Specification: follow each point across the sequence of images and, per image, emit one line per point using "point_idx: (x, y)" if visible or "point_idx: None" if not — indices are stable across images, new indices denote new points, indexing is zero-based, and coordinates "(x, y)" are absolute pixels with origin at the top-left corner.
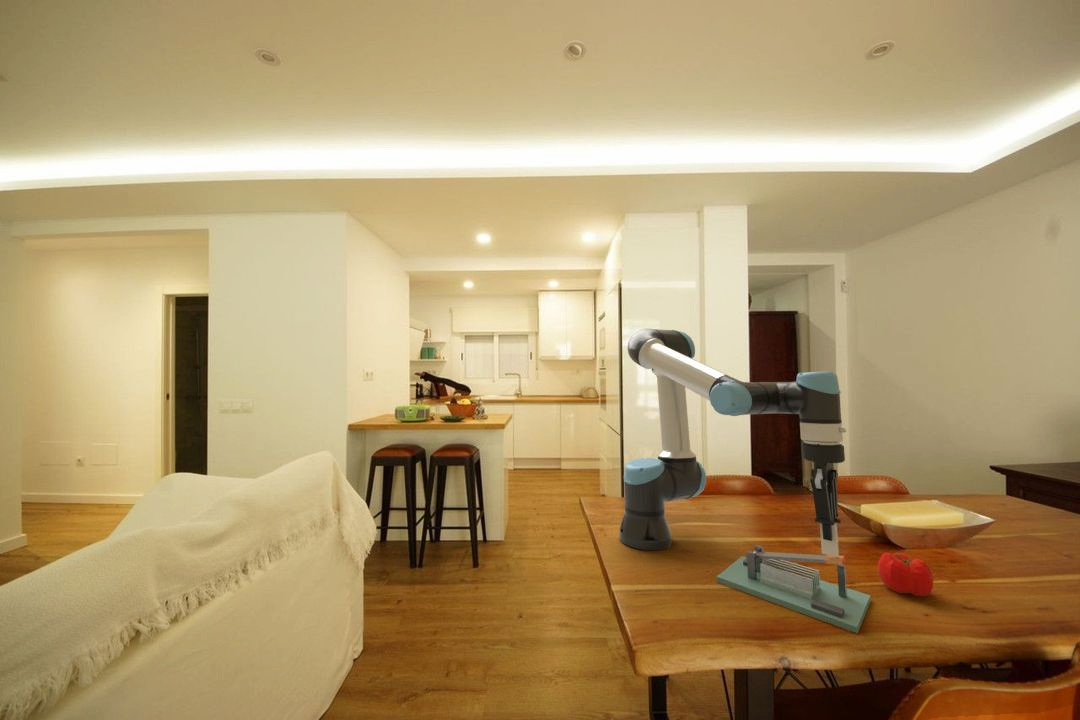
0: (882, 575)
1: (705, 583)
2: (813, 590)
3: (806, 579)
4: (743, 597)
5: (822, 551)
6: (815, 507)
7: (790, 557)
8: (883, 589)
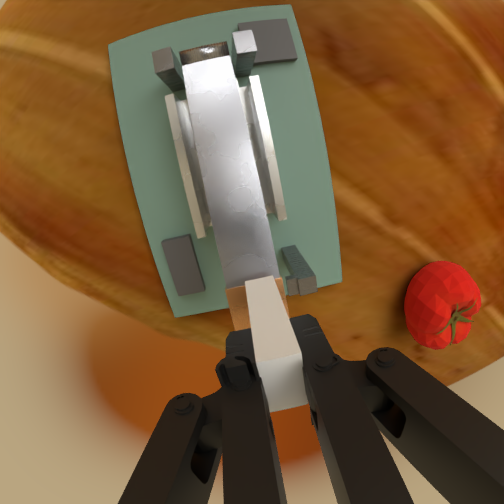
0: (424, 278)
1: (87, 47)
2: None
3: (194, 224)
4: (98, 121)
5: (246, 286)
6: (134, 477)
7: (202, 174)
8: (407, 268)
